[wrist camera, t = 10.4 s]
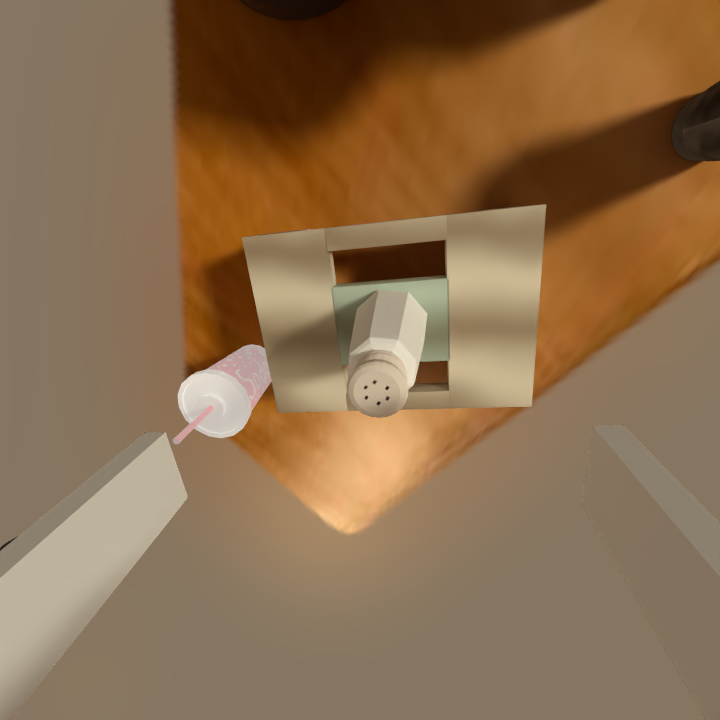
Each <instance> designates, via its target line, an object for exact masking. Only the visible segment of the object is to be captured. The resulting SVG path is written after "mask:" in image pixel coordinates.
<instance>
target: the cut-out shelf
mask: <svg viewBox="0 0 720 720" xmlns="http://www.w3.org/2000/svg"><path fill="white" fill-rule="evenodd" d="M545 216H546V204H543V205H530V206H517V207H507V208H497V209H488V210H479V211H475V212H469V213H459V214H450V215H441V216H432V217H423V218H414V219H405V220H395V221H386V222H377V223H368V224H359V225H350V226H340V227H331V228H322V229H313V230H312V229H306V230H297V231H288V232H279V233H271V234H264V235H257V236H249V237H242V242H243V246H244V251H245V256H246V261H247V266H248V270H249V275H250V280H251V285H252V290H253V294H254V299H255V304H256V309H257V313H258V318H259V323H260V328H261V333H262V337H263V342H264V347H265V352H266V357H267V361H268V366H269V371H270V376H271V380H272V385H273V390H274V395H275V400H276V404H277V409H278V413H280V412H321V411H358V410H357V409H356V408H355V407H354V406H353V405H352V403H351V401H350V400H349V398H348V394H347V382H348V373H347V365H349V351H350V344H351V338H352V333H353V327H354V322H355V316H356V311H357V308H358V307H359V306H360V305H361V304H363V303H364V302H365V301H366V300H367V299H368V298H369V297H370V296H372V295H373V294H374V293H375V292H376V291H377V290H378V289H379V290H394V291H408V292H409V293H410V294H411V295H412V296H413V297H414V299H415V300H416V301H417V302H418V303H419V304H420V306H421V307H422V308H423V309H424V310H425V312H426V313H427V322H426V331H425V339H424V345H423V349H422V353H421V358H420V362H427V361H447V383H423V384H414V385H413V386H412V387H411V388H409V389H408V398H407V400H406V403H405V404H404V406H403V407H402V408H401V409H400V410H403V409H444V408H485V407H527V406H532V394H533V380H534V366H535V353H536V339H537V325H538V312H539V298H540V284H541V271H542V257H543V243H544V230H545ZM439 240H445V275H439V276H427V277H415V278H403V279H391V280H379V281H367V282H355V283H343V284H336V277H335V269H334V261H333V253H332V251H338V250H348V249H358V248H368V247H378V246H388V245H399V244H409V243H419V242H429V241H439Z"/></svg>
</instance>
